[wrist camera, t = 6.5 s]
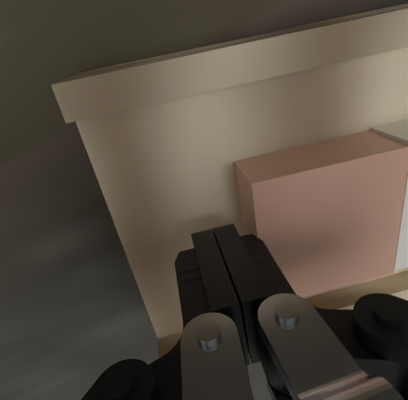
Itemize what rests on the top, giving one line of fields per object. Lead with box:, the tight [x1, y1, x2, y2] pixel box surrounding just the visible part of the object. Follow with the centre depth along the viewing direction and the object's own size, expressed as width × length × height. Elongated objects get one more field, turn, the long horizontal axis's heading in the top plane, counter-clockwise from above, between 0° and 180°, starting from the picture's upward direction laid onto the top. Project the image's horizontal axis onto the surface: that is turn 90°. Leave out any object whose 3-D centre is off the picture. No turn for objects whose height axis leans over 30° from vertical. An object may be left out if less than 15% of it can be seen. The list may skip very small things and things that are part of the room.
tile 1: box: [234, 130, 408, 297], centre depth 11 cm, size 5×5×2 cm
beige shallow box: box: [51, 3, 408, 358], centre depth 13 cm, size 14×12×4 cm
